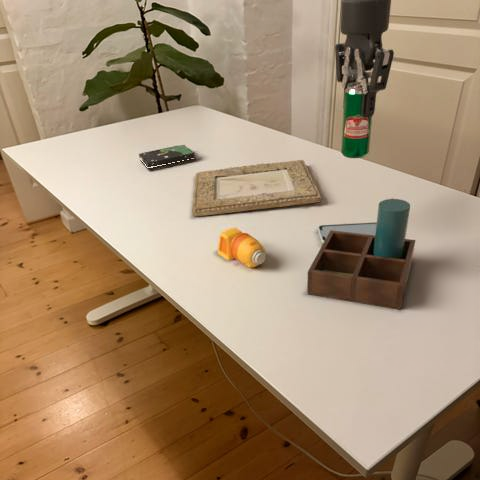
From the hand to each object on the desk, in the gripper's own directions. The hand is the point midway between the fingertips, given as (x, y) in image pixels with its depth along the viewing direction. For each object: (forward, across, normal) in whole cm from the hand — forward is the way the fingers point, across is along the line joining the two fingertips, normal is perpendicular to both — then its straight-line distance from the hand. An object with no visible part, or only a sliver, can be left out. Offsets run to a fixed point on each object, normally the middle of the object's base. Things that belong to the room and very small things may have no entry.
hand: (357, 112), depth 82 cm
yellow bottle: (+24, 0, +24) cm, 33 cm away
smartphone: (+24, -2, 0) cm, 24 cm away
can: (+23, -16, +2) cm, 28 cm away
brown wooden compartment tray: (+24, -16, +7) cm, 29 cm away
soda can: (+8, 0, 0) cm, 8 cm away
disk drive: (+24, +66, +23) cm, 74 cm away
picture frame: (+24, +32, +9) cm, 41 cm away
